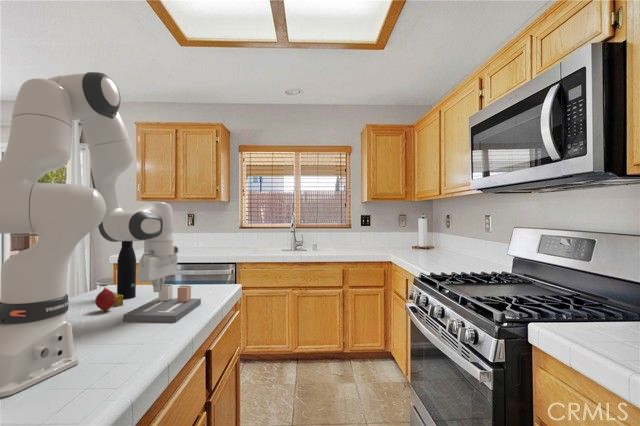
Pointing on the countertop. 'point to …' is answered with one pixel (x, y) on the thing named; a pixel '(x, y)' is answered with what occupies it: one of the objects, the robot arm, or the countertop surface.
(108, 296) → the onion
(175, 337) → the countertop surface
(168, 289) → the block
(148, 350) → the countertop surface
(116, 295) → the medication box
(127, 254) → the wine bottle
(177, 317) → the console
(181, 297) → the fader
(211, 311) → the countertop surface
